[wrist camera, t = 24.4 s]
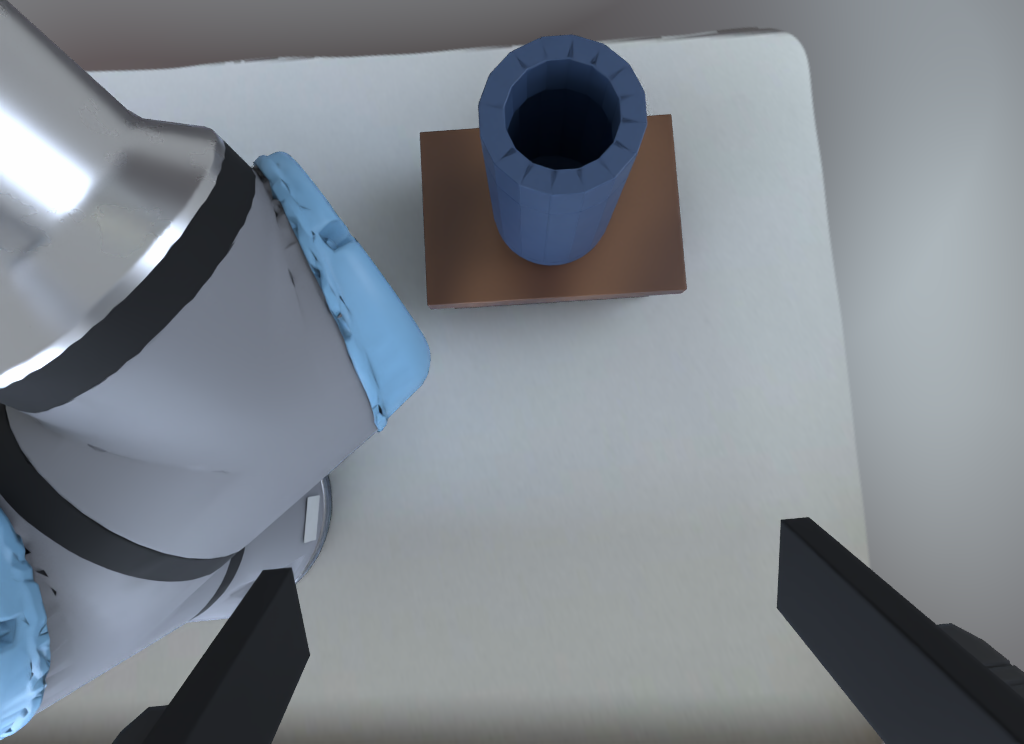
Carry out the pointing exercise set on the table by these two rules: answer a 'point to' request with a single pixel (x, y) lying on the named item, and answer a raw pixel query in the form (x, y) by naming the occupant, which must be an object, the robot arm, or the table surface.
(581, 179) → the jar
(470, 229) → the overhanging wooden cap box
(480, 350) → the table surface
